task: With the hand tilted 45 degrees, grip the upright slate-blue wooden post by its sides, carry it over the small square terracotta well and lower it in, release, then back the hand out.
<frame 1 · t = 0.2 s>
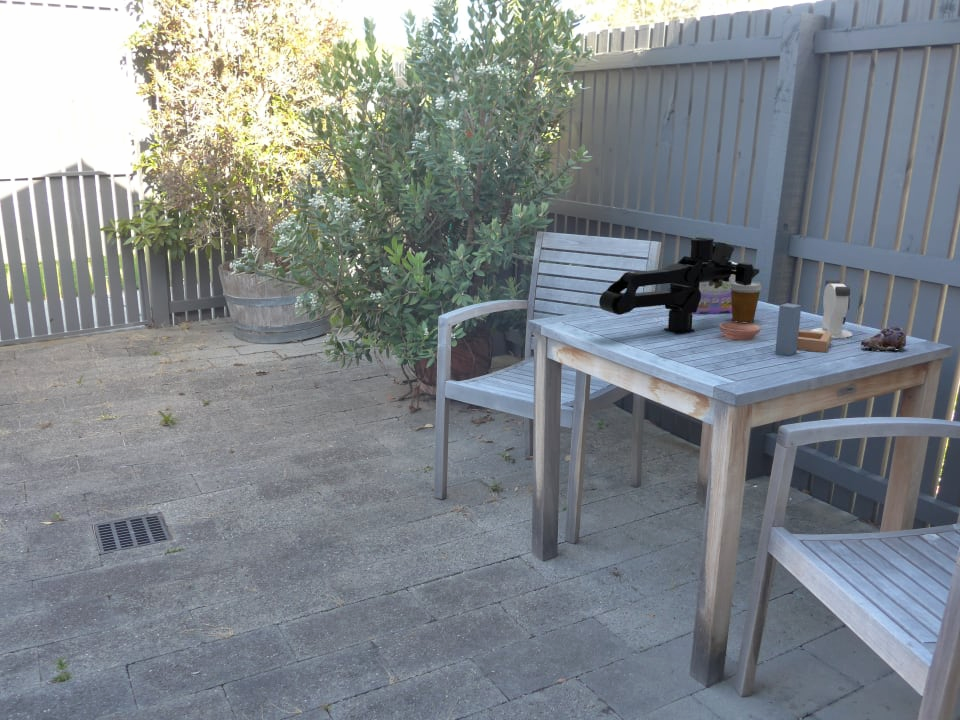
hand: (747, 268, 256), 17 cm above the table, tool horizontal, fingers open, 9 cm apart
post: (785, 352, 226), on the table
candy box: (710, 312, 275), on the table
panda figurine: (831, 334, 246), on the table
disposable coffee cup: (742, 321, 262), on the table
well: (808, 345, 232), on the table
skull: (881, 349, 229), on the table
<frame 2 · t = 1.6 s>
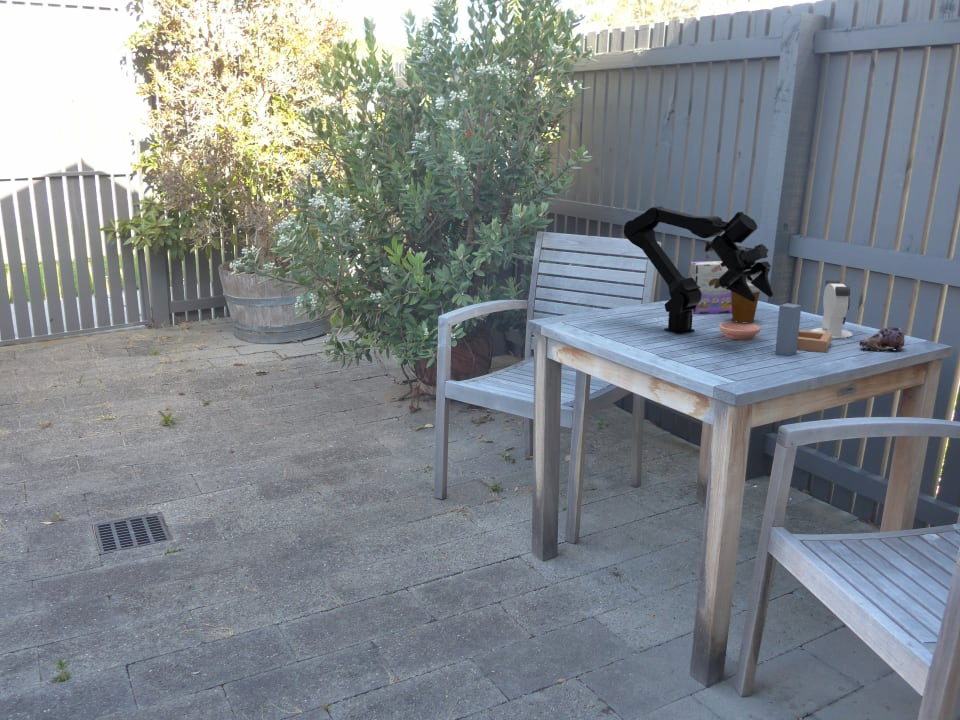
hand: (763, 298, 228), 14 cm above the table, tool tilted 45°, fingers open, 9 cm apart
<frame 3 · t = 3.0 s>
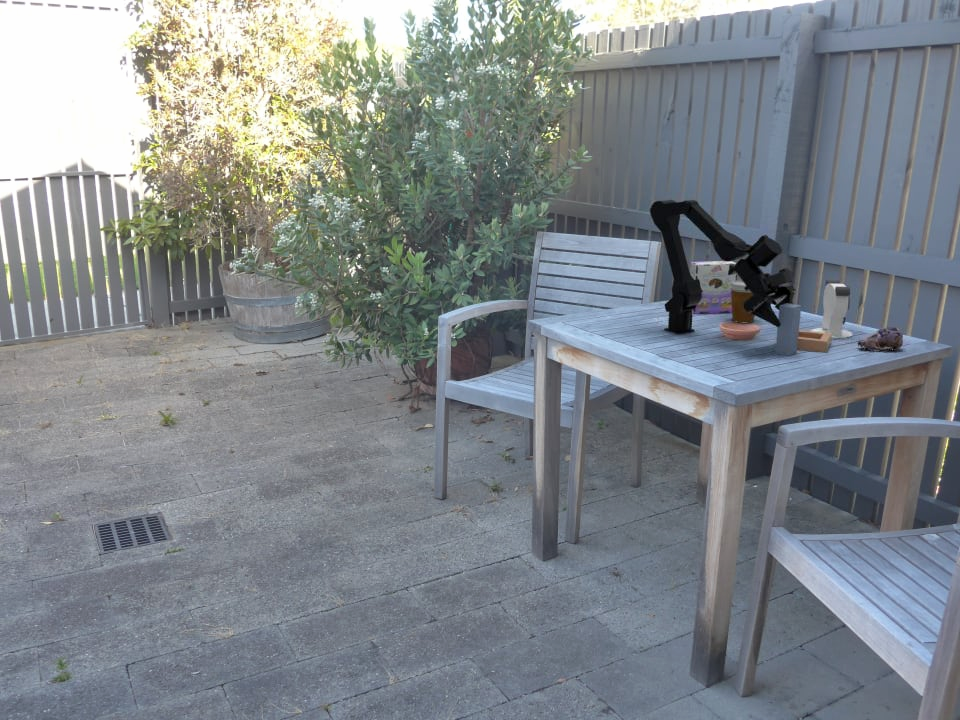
hand: (788, 323, 224), 8 cm above the table, tool tilted 45°, fingers open, 9 cm apart
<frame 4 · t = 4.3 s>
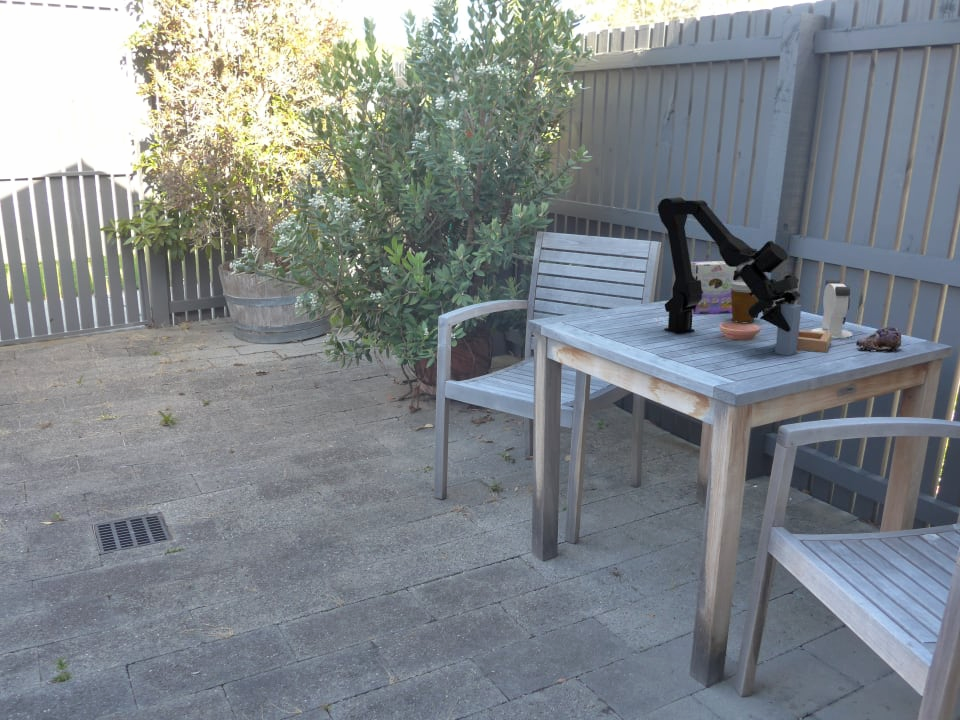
hand: (793, 329, 223), 7 cm above the table, tool tilted 45°, fingers closed on post, 4 cm apart
post: (785, 352, 226), on the table, touching gripper
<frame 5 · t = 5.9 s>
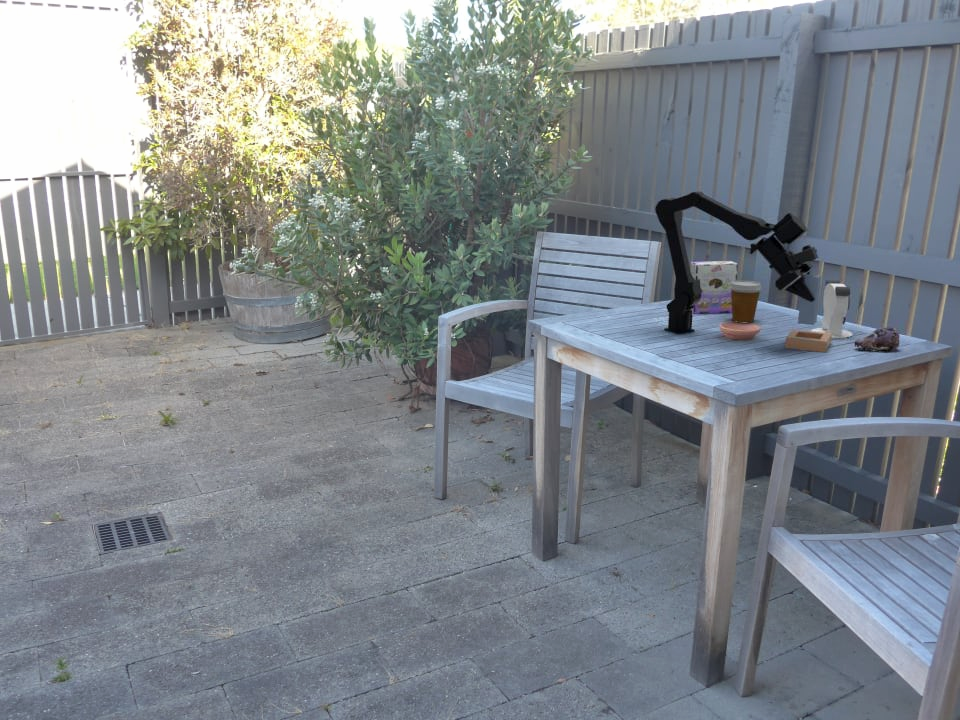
hand: (814, 299, 226), 14 cm above the table, tool tilted 45°, fingers closed on post, 4 cm apart
post: (807, 322, 229), point 7 cm above the table, touching gripper
when the fingers open (8 cm above the table, at t = 7.7 s): post drops 1 cm, resting in well.
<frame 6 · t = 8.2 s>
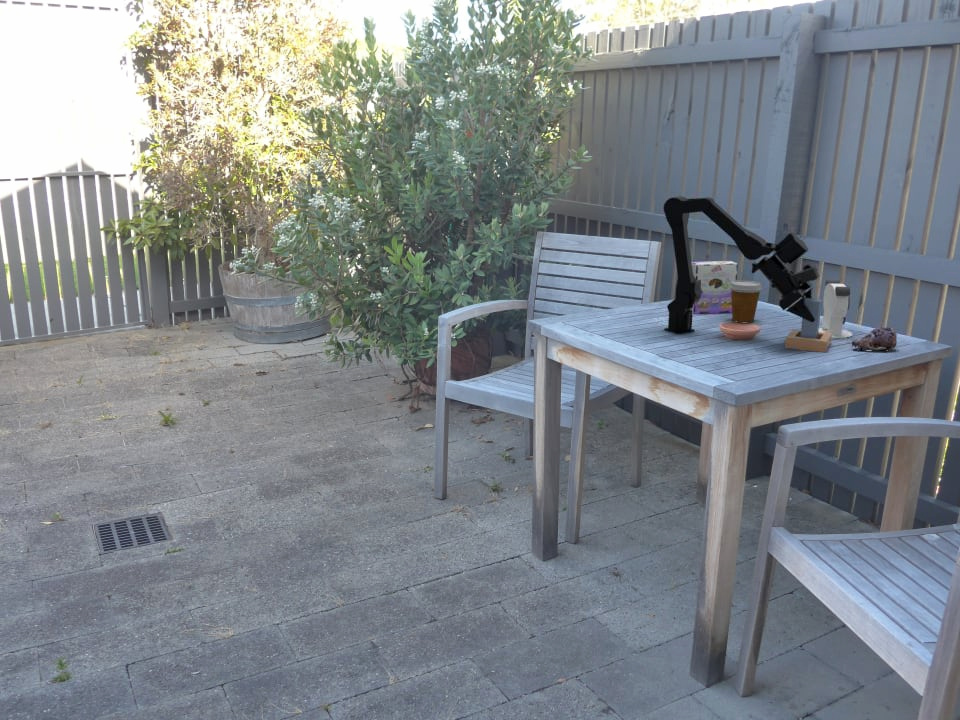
hand: (816, 318, 230), 8 cm above the table, tool tilted 45°, fingers open, 9 cm apart
post: (808, 345, 232), resting in well
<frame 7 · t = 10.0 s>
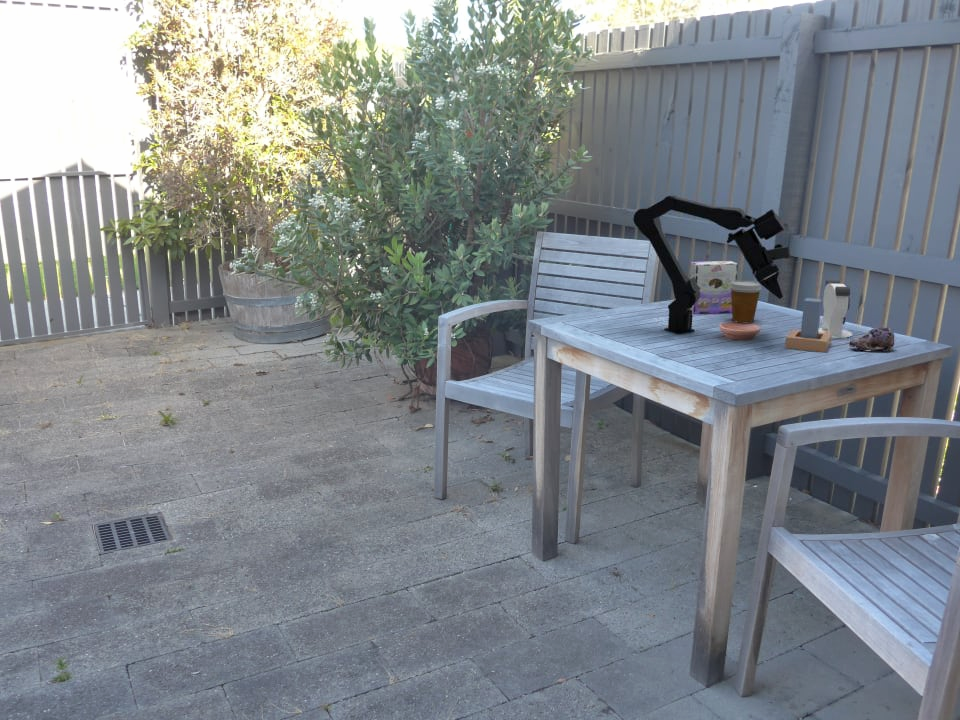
hand: (779, 296, 235), 13 cm above the table, tool tilted 35°, fingers open, 9 cm apart
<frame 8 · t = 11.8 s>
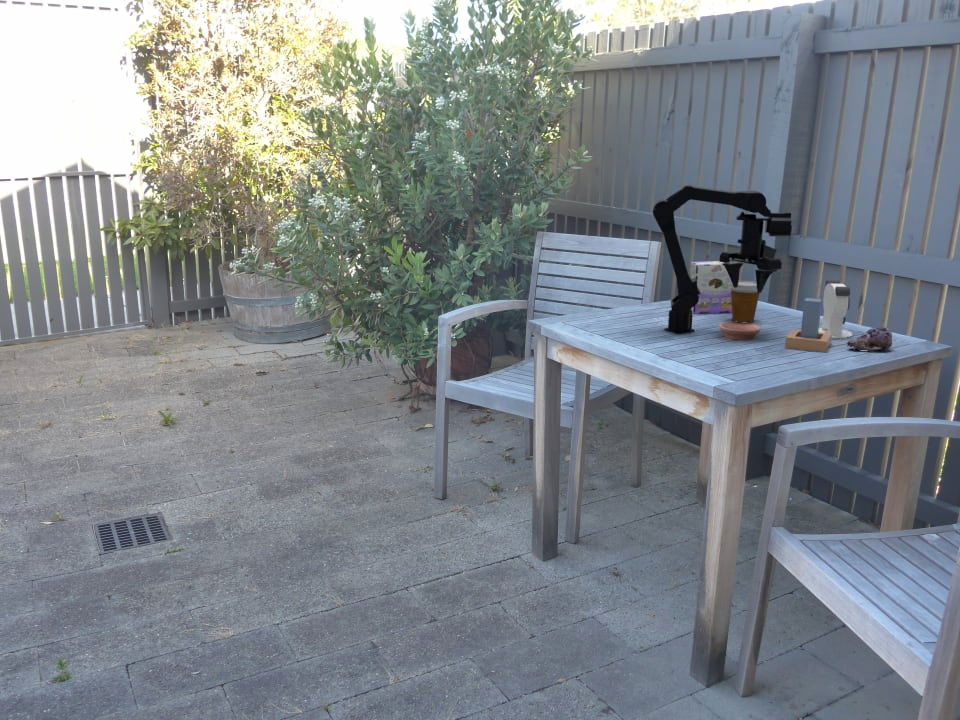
hand: (747, 290, 243), 13 cm above the table, tool pointing down, fingers open, 9 cm apart
at the end: post 0.0 cm off-centre on the well, point 0.0 cm above the well's base; post tilted 0°; the gripper is holding nothing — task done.
